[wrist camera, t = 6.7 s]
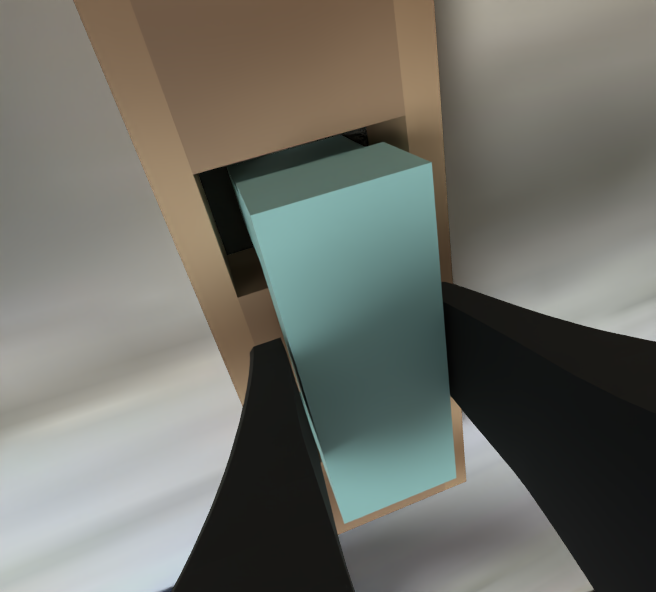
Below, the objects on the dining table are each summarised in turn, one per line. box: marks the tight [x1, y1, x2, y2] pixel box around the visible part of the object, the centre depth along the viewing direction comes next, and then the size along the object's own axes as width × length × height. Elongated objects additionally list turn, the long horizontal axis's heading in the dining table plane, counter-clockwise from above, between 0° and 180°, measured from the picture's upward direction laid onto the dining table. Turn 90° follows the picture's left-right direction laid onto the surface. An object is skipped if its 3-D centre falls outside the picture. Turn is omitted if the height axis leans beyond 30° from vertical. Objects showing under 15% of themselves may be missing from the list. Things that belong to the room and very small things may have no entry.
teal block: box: [226, 135, 456, 524], centre depth 11 cm, size 8×3×5 cm, turn 12°
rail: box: [73, 0, 466, 535], centre depth 12 cm, size 16×6×2 cm, turn 12°
